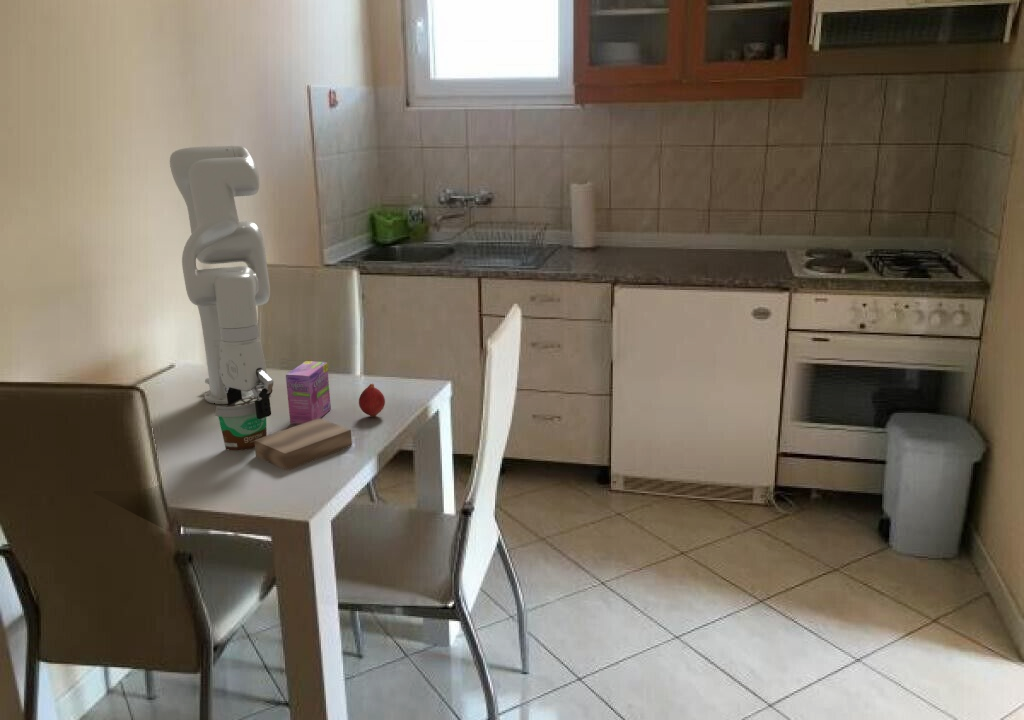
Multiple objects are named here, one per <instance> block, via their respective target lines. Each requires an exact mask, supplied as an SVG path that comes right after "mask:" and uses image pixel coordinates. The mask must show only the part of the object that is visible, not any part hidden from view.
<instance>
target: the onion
mask: <svg viewBox="0 0 1024 720" xmlns="http://www.w3.org/2000/svg"><path fill="white" fill-rule="evenodd" d="M385 405H386V399H385V396H384V394H383V393H382V392H381V390H379V389H378V388H377V387H375V384H374V383H370V384H369V385H368V386H367V387H366V388H365V389H363V390H362V392H361V394H360V396H359V398H358V407H359V408H360V410H361V411H362V412H363V413H364V414H366V415H368V416H370V417H371V418H375V417H377V416H378V414H379V413H381V412H382V411H383V409H384V407H385Z"/></svg>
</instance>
